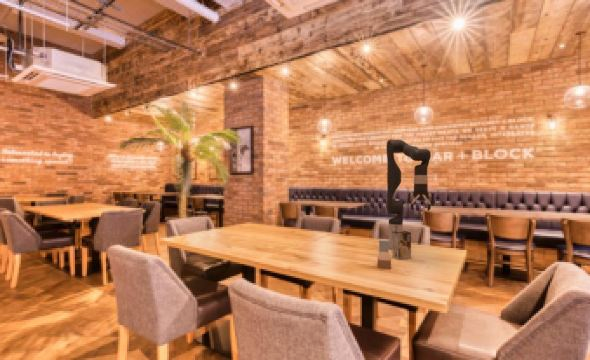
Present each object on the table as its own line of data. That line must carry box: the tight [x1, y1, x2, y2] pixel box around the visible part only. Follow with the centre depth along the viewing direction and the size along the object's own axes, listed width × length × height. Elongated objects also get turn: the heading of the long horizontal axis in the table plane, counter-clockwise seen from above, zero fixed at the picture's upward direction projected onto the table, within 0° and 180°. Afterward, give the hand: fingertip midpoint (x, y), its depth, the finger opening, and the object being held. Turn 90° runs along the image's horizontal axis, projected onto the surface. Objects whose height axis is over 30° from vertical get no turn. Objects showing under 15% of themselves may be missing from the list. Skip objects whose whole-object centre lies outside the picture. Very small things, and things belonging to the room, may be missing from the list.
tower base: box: [377, 257, 392, 270], centre depth 163 cm, size 7×7×4 cm
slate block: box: [378, 238, 390, 252], centre depth 163 cm, size 5×5×6 cm
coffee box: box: [391, 230, 412, 261], centre depth 180 cm, size 9×6×16 cm
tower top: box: [377, 248, 391, 261], centre depth 163 cm, size 6×6×4 cm
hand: (420, 210), depth 173 cm, fingers open, 8 cm apart
